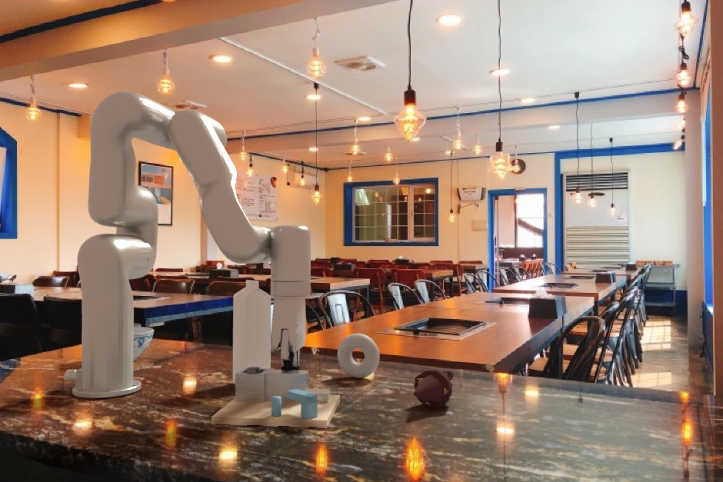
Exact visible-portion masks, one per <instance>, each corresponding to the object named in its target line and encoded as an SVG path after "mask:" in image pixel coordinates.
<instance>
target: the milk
mask: <svg viewBox="0 0 723 482" xmlns="http://www.w3.org/2000/svg"><path fill="white" fill-rule="evenodd" d="M259 283H260V282H259V280H251V279H250V280H249V279H246V280H245V287H244V288H242V289H240V290H239V291H237V292H236V293H235V294H233V296H232V297H233V300H232V304H233V305H232V307H233V308H232V310H233V316H232V319H233V321H232V326H233V327H232V384H234V385H235V379H236V373H237V372H239V371H240V370H242V369H243V368H248V367H260V368H271V365H272V364H271V361H272V359H271V358H272V357H271V353H272V350H271V332H272V298H271V294H269V293H268V292H266V291H264V290H263V289H261V288H260V286H259ZM271 369H272V368H271Z"/></svg>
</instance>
